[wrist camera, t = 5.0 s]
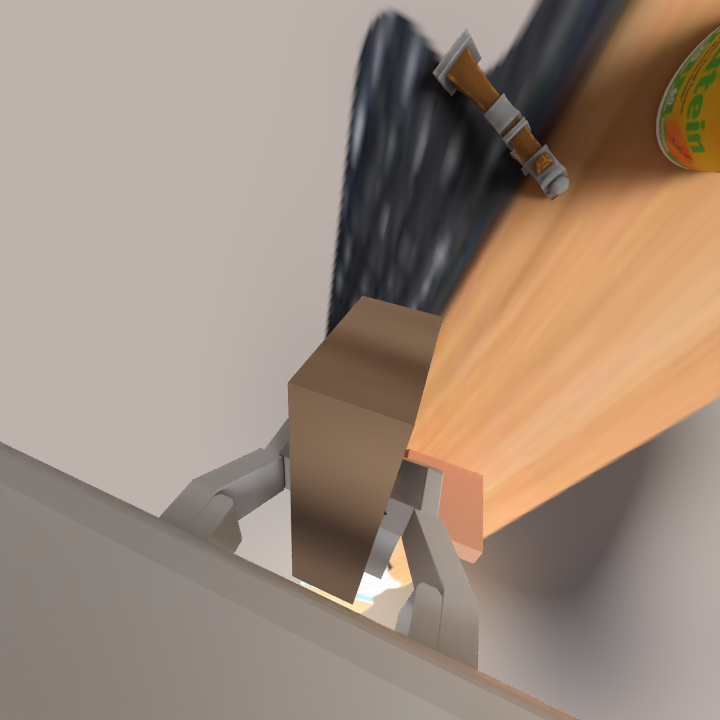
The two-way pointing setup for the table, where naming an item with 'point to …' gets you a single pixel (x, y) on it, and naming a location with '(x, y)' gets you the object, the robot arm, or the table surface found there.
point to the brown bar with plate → (354, 440)
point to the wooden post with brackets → (500, 115)
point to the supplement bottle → (693, 110)
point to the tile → (459, 506)
